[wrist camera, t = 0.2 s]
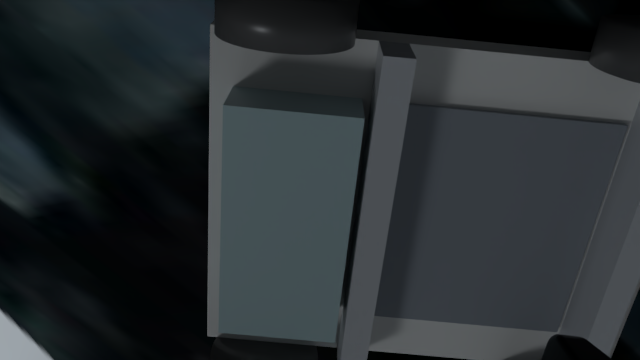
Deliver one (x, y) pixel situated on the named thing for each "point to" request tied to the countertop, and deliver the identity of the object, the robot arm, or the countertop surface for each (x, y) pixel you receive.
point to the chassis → (416, 188)
